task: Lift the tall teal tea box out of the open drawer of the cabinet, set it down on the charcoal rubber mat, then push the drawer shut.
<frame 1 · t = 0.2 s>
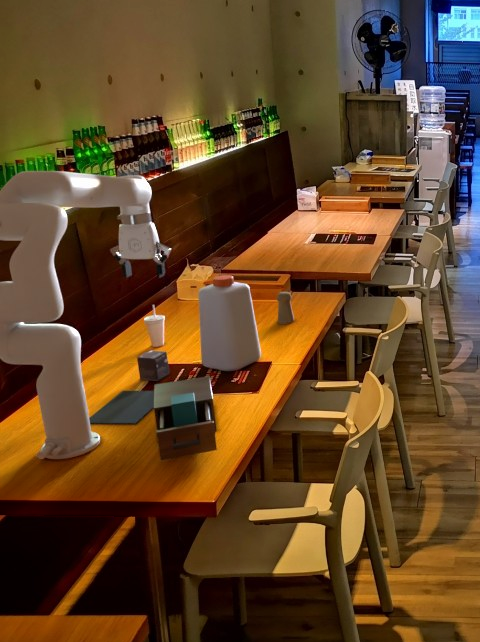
hand: (144, 276, 212), 31 cm above the table, tool pointing down, fingers open, 9 cm apart
pepper shaker: (286, 321, 269), on the table
smoothie: (158, 345, 246), on the table
mat: (129, 407, 199), on the table
drawer: (186, 432, 176), point 5 cm above the table, slide at 11.0 cm, touching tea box
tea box: (187, 435, 179), point 2 cm above the table, touching drawer
cabinet: (187, 423, 190), on the table
plastic bottle: (232, 362, 231), on the table
box: (155, 377, 219), on the table
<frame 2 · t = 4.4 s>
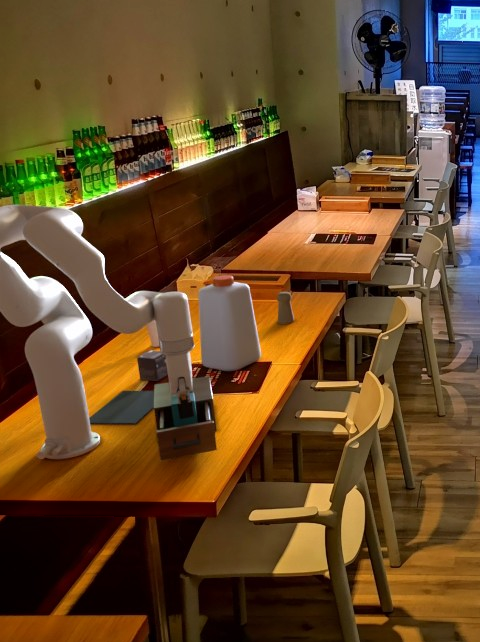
hand: (186, 409, 177), 9 cm above the table, tool pointing down, fingers open, 9 cm apart
nothing on the table moved.
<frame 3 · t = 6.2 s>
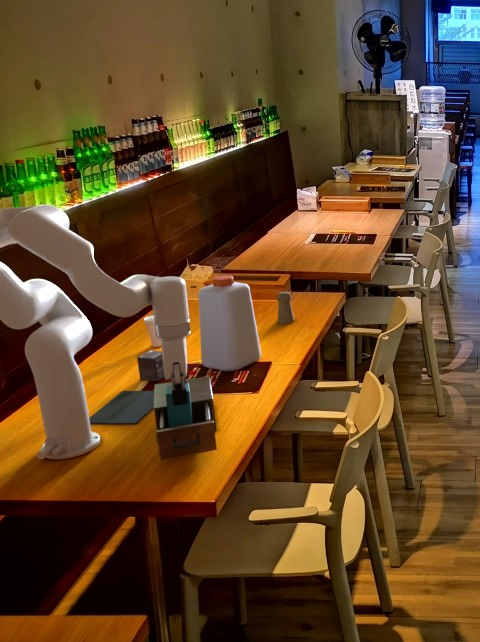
hand: (180, 398, 177), 12 cm above the table, tool pointing down, fingers closed on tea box, 5 cm apart
drawer: (186, 431, 176), point 5 cm above the table, slide at 10.9 cm
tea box: (181, 426, 178), point 5 cm above the table, touching gripper
everything else where it was.
when the fingers open (7 cm above the table, at t = 12.8 s): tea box stays where it is, resting on mat.
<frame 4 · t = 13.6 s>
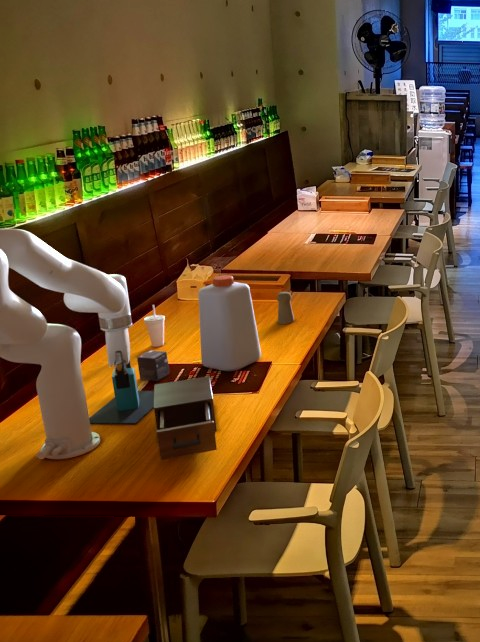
hand: (124, 381, 197), 8 cm above the table, tool pointing down, fingers open, 9 cm apart
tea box: (128, 405, 199), resting on mat
everything else where it was.
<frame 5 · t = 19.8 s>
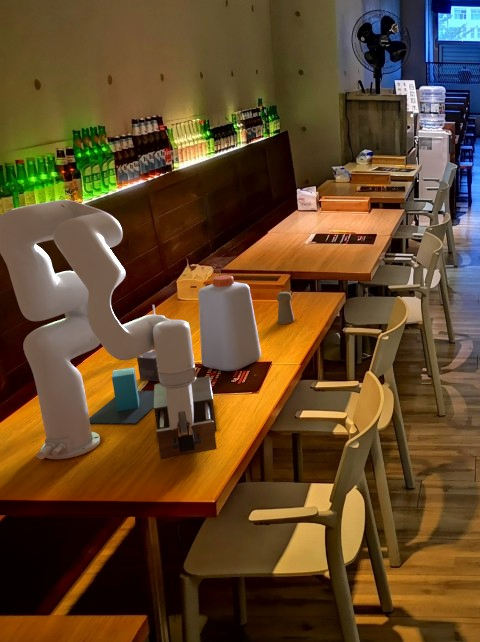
hand: (187, 449, 166), 5 cm above the table, tool pointing down, fingers closed
drawer: (186, 431, 176), point 5 cm above the table, slide at 10.6 cm, touching gripper
everything else where it was.
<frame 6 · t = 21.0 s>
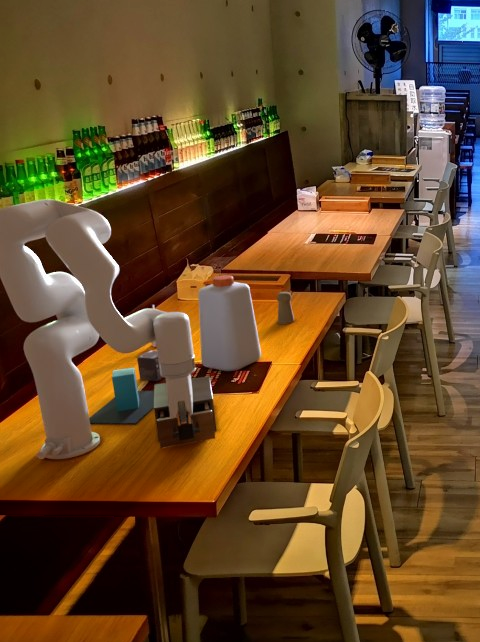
hand: (186, 437, 172), 5 cm above the table, tool pointing down, fingers closed
drawer: (186, 421, 181), point 5 cm above the table, slide at 4.6 cm, touching gripper
everything else where it was.
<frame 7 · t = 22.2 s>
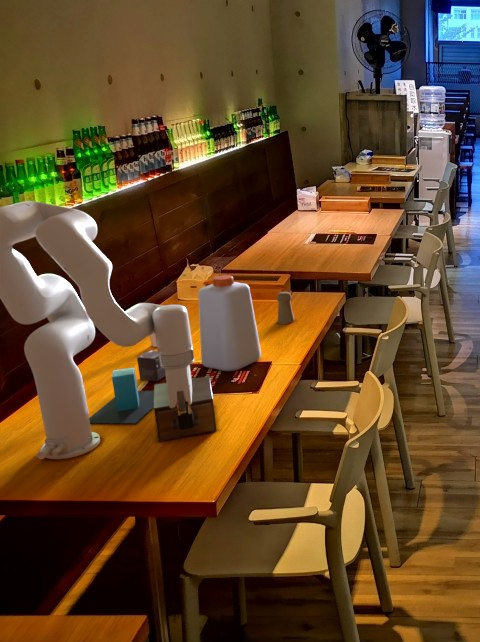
hand: (187, 427, 176), 5 cm above the table, tool pointing down, fingers closed
drawer: (185, 413, 185), point 5 cm above the table, slide at 0.0 cm, touching cabinet, gripper
everything else where it was.
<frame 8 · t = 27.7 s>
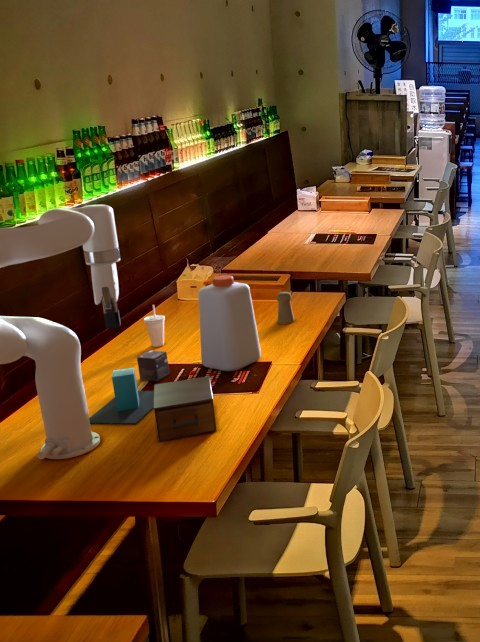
hand: (113, 326, 182), 27 cm above the table, tool pointing down, fingers closed
drawer: (185, 413, 185), point 5 cm above the table, slide at 0.0 cm, touching cabinet
everything else where it was.
at the end: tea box inside the target area (0.2 cm from its centre), point 0.5 cm above the table; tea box tilted 0°; drawer slide at 0.0 cm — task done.
